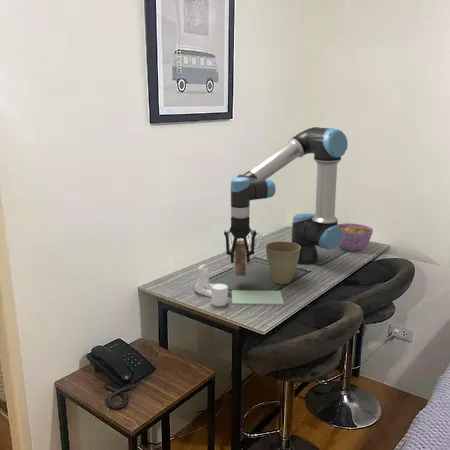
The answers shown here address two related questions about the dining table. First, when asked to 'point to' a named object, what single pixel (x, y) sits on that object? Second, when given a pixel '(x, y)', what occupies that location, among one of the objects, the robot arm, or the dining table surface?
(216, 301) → the white mug
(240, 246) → the walnut slab
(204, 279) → the seated beast figurine
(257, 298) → the mat
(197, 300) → the dining table surface
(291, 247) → the plant pot
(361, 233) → the bowl of food
